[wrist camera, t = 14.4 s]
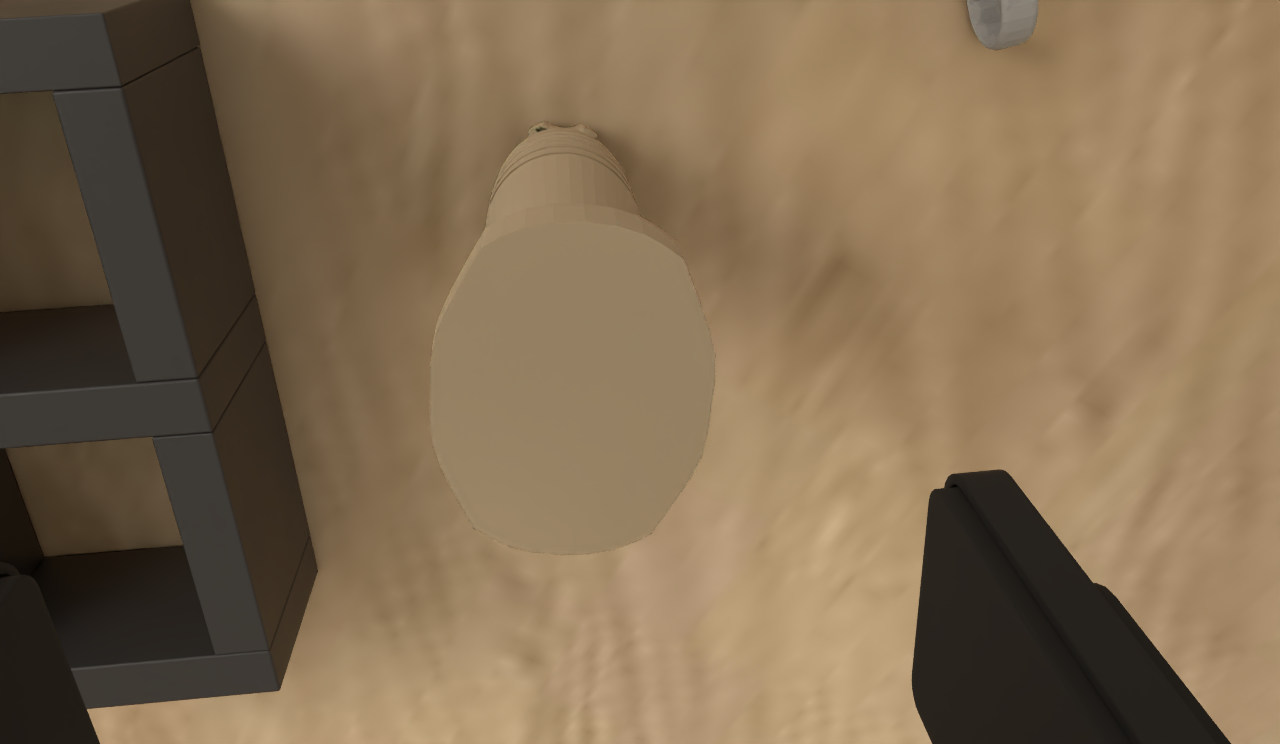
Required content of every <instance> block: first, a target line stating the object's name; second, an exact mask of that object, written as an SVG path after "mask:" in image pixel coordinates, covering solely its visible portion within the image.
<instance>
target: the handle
mask: <svg viewBox="0 0 1280 744" xmlns="http://www.w3.org/2000/svg"><path fill="white" fill-rule="evenodd" d="M715 359H716V355H715V351H714V346H713V341H712V337H711V332H710V328H709V326H708V323H707V320H706V317H705V314H704V312H703V309H702V306H701V303H700V300H699V297H698V295H697V292H696V289H695V287H694V284H693V281H692V279H691V276H690V273H689V271H688V268H687V266H686V263H685V261H684V258H683V256H682V253H681V250H680V248H679V245H678V243H677V242H676V240H675V239H674V238H672V237H671V236H670V235H668V234H667V233H666V232H664V231H663V230H662V229H661V228H659V227H658V226H656V225H654V224H652V223H651V222H649V221H647V220H645V219H644V218H642V217H640V216H639V212H638V209H637V206H636V202H635V199H634V196H633V193H632V190H631V187H630V184H629V182H628V180H627V178H626V176H625V174H624V172H623V170H622V168H621V166H620V164H619V163H618V162H617V160H616V159H615V157H614V156H613V155H612V154H611V152H610V151H609V150H608V149H607V148H606V147H605V146H604V145H603V144H601V143H600V142H599V141H598V136H597V134H596V133H595V132H594V131H593V130H592V129H590V128H588V127H586V126H584V125H583V124H579V125H577V126H574V127H565V128H563V127H557V126H554V125H551V124H549V123H548V122H545V121H544V122H541V123H538V124H536V125H535V126H533V127H531V129H530V131H529V133H528V137H527V138H526V139H525V140H524V141H522V142H521V143H520V144H519V145H517V147H516V148H515V149H514V150H513V151H512V152H511V153H510V154H509V156H508V157H507V159H506V160H505V162H504V164H503V165H502V167H501V169H500V172H499V174H498V176H497V179H496V181H495V184H494V187H493V190H492V194H491V198H490V202H489V207H488V212H487V217H486V226H485V230H484V231H483V233H482V235H481V236H480V238H479V240H478V241H477V243H476V245H475V247H474V248H473V250H472V252H471V254H470V255H469V257H468V259H467V261H466V263H465V264H464V266H463V268H462V270H461V272H460V274H459V276H458V277H457V279H456V281H455V283H454V285H453V287H452V289H451V291H450V293H449V295H448V297H447V299H446V302H445V304H444V306H443V309H442V311H441V313H440V315H439V318H438V321H437V325H436V330H435V334H434V339H433V345H432V353H431V366H430V427H431V436H432V444H433V448H434V451H435V454H436V457H437V459H438V462H439V465H440V467H441V470H442V472H443V474H444V476H445V478H446V480H447V481H448V483H449V485H450V487H451V489H452V491H453V493H454V495H455V497H456V498H457V500H458V502H459V504H460V506H461V507H462V509H463V511H464V513H465V514H466V516H467V518H468V520H469V522H470V523H471V525H472V527H473V529H475V530H477V531H479V532H480V533H482V534H484V535H485V536H487V537H489V538H490V539H493V540H495V541H497V542H499V543H502V544H504V545H506V546H509V547H512V548H516V549H520V550H525V551H529V552H533V553H543V554H554V555H581V554H593V553H599V552H605V551H610V550H615V549H618V548H620V547H623V546H626V545H629V544H631V543H634V542H636V541H638V540H640V539H642V538H644V537H646V536H648V535H650V534H652V533H653V531H654V530H655V529H656V527H657V526H658V524H659V523H660V522H661V520H662V519H663V517H664V516H665V515H666V513H667V512H668V510H669V509H670V508H671V506H672V505H673V503H674V502H675V501H676V499H677V498H678V496H679V495H680V493H681V492H682V490H683V489H684V487H685V486H686V484H687V483H688V481H689V480H690V478H691V476H692V475H693V473H694V471H695V469H696V467H697V465H698V463H699V461H700V459H701V457H702V454H703V450H704V446H705V442H706V438H707V434H708V429H709V421H710V414H711V407H712V399H713V392H714V385H715Z"/></svg>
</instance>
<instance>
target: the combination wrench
mask: <svg viewBox="0 0 1280 744" xmlns="http://www.w3.org/2000/svg"><path fill="white" fill-rule="evenodd" d="M967 6H968V11H969V16H970V20H971V23H972V26H973V29H974V31H975V33H976V36H977V37H978V39H979V40H980V42H981V43H982V44H983V45H984V46H985V47H986V48H988V49H992V50H1000V49H1004V48H1008V47H1012V46H1016V45H1020V44H1022V43H1024V42H1025V41H1027V40H1028V39H1029V37H1030V36H1031V35H1032V33H1033V30H1034V28H1035V25H1036V21H1037V15H1038V0H967Z"/></svg>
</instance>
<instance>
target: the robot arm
mask: <svg viewBox="0 0 1280 744" xmlns="http://www.w3.org/2000/svg"><path fill="white" fill-rule="evenodd" d="M912 690H913V696H914V700H915V704H916V708H917V710H918V713H919V715H920V717H921V720H922V722H923V724H924V726H925V728H926V731H927V733H928V735H929V737H930V740H931V742H932V744H1231V743H1230V742H1229V740H1228V739H1227V738H1226V737H1225V735H1224V734H1223V733H1222V731H1221V730H1220V729H1219V728H1218V726H1217V725H1216V724H1215V723H1214V721H1213V720H1212V719H1211V717H1210V716H1209V715H1208V714H1207V712H1206V711H1205V710H1204V709H1203V707H1202V706H1201V705H1200V703H1199V702H1198V701H1197V700H1196V698H1195V697H1194V696H1193V695H1192V693H1191V692H1190V691H1189V689H1188V688H1187V687H1186V686H1185V684H1184V683H1183V682H1182V680H1181V679H1180V678H1179V677H1178V675H1177V674H1176V673H1175V672H1174V670H1173V669H1172V668H1171V666H1170V665H1169V664H1168V663H1167V661H1166V660H1165V659H1164V658H1163V656H1162V655H1161V654H1160V652H1159V651H1158V650H1157V649H1156V647H1155V646H1154V645H1153V644H1152V642H1151V641H1150V640H1149V638H1148V637H1147V636H1146V635H1145V633H1144V632H1143V631H1142V630H1141V628H1140V627H1139V626H1138V624H1137V623H1136V622H1135V621H1134V619H1133V618H1132V617H1131V615H1130V614H1129V613H1128V612H1127V610H1126V609H1125V608H1124V607H1123V605H1122V604H1121V603H1120V601H1119V600H1118V599H1117V598H1116V596H1114V595H1113V594H1112V593H1111V592H1110V591H1109V590H1108V589H1107V588H1106V587H1105V586H1102V585H1100V584H1097V583H1093V582H1092V581H1091V580H1090V578H1089V577H1088V576H1087V575H1086V573H1085V572H1084V571H1083V569H1082V568H1081V567H1080V565H1079V564H1078V563H1077V562H1076V560H1075V559H1074V558H1073V556H1072V555H1071V554H1070V552H1069V551H1068V550H1067V549H1066V547H1065V546H1064V545H1063V543H1062V542H1061V541H1060V539H1059V538H1058V537H1057V536H1056V534H1055V533H1054V532H1053V530H1052V529H1051V528H1050V526H1049V525H1048V524H1047V522H1046V521H1045V520H1044V519H1043V517H1042V516H1041V515H1040V513H1039V512H1038V511H1037V509H1036V508H1035V507H1034V506H1033V504H1032V503H1031V502H1030V500H1029V499H1028V498H1027V496H1026V495H1025V494H1024V493H1023V491H1022V490H1021V489H1020V487H1019V486H1018V485H1017V483H1016V482H1015V481H1014V480H1013V478H1012V477H1011V476H1010V475H1009V474H1008V473H1007V472H1006V471H1004V470H990V471H979V472H968V473H958V474H951V475H950V476H948V478H947V480H946V482H945V487H944V488H941V489H934V490H933V491H932V492H931V495H930V498H929V505H928V516H927V526H926V536H925V546H924V556H923V567H922V577H921V587H920V597H919V608H918V618H917V628H916V638H915V648H914V659H913V669H912ZM0 744H100V743H99V740H98V737H97V735H96V732H95V730H94V727H93V725H92V722H91V719H90V717H89V714H88V712H87V709H86V707H85V704H84V701H83V699H82V696H81V694H80V691H79V689H78V686H77V683H76V681H75V678H74V676H73V673H72V671H71V668H70V665H69V663H68V660H67V658H66V655H65V653H64V650H63V647H62V645H61V642H60V640H59V637H58V635H57V632H56V629H55V627H54V624H53V622H52V619H51V617H50V614H49V611H48V609H47V606H46V604H45V601H44V599H43V596H42V593H41V591H40V588H39V586H38V584H37V582H36V580H35V579H33V578H32V577H31V576H28V575H20V573H19V572H18V570H17V569H16V568H15V567H14V566H13V565H12V564H8V563H0Z"/></svg>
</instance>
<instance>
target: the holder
mask: <svg viewBox="0 0 1280 744" xmlns="http://www.w3.org/2000/svg"><path fill="white" fill-rule="evenodd" d="M197 46H199V39H198V35H197V30H196V26H195V22H194V17H193V13H192V8H191V4H190V0H0V94H7V93H23V92H40V91H53V98H54V101H55V105H56V108H57V112H58V115H59V119H60V122H61V125H62V129H63V132H64V136H65V139H66V143H67V146H68V149H69V153H70V156H71V160H72V163H73V167H74V170H75V173H76V177H77V180H78V184H79V187H80V191H81V194H82V197H83V201H84V204H85V208H86V211H87V215H88V218H89V222H90V225H91V228H92V232H93V235H94V239H95V242H96V246H97V249H98V252H99V256H100V259H101V263H102V266H103V270H104V273H105V276H106V280H107V283H108V287H109V290H110V294H111V297H112V300H113V304H114V305H103V306H89V307H75V308H62V309H48V310H34V311H21V312H7V313H0V563H8V564H12V565H13V566H14V567H15V568H16V569H17V570H18V572H19V573H20V575H28V576H31V577H32V578H33V579H35V580H36V582H37V584H38V586H39V588H40V591H41V593H42V596H43V599H44V601H45V604H46V606H47V609H48V611H49V614H50V617H51V619H52V622H53V624H54V627H55V629H56V632H57V635H58V637H59V640H60V642H61V645H62V647H63V650H64V653H65V655H66V658H67V660H68V663H69V665H70V668H71V671H72V673H73V676H74V678H75V681H76V683H77V686H78V689H79V691H80V694H81V696H82V699H83V701H84V704H85V707H86V709H92V708H102V707H113V706H124V705H134V704H145V703H155V702H166V701H177V700H187V699H198V698H209V697H219V696H230V695H241V694H251V693H262V692H273V691H279V690H280V688H281V685H282V682H283V679H284V675H285V672H286V669H287V666H288V663H289V660H290V657H291V653H292V650H293V647H294V644H295V641H296V638H297V635H298V632H299V628H300V625H301V622H302V619H303V616H304V613H305V610H306V607H307V603H308V600H309V597H310V594H311V591H312V588H313V585H314V581H315V578H316V575H317V572H318V570H317V565H316V561H315V556H314V552H313V547H312V543H311V539H310V536H309V534H310V533H309V529H308V524H307V520H306V515H305V511H304V507H303V502H302V498H301V493H300V489H299V484H298V480H297V475H296V471H295V467H294V462H293V458H292V453H291V449H290V444H289V440H288V435H287V431H286V427H285V422H284V418H283V413H282V409H281V404H280V400H279V396H278V391H277V387H276V382H275V378H274V373H273V369H272V364H271V360H270V356H269V351H268V347H267V343H266V342H265V334H264V330H263V325H262V321H261V317H260V312H259V308H258V303H257V299H256V296H255V295H254V293H255V290H254V286H253V281H252V277H251V272H250V268H249V264H248V259H247V255H246V250H245V246H244V241H243V237H242V233H241V228H240V224H239V219H238V215H237V210H236V206H235V201H234V197H233V193H232V188H231V184H230V179H229V175H228V170H227V166H226V161H225V157H224V153H223V148H222V144H221V139H220V135H219V130H218V126H217V122H216V117H215V113H214V108H213V104H212V99H211V95H210V90H209V86H208V82H207V77H206V73H205V68H204V64H203V59H202V55H201V50H200V48H199V47H197ZM141 437H153V443H154V446H155V450H156V453H157V457H158V460H159V463H160V467H161V470H162V474H163V477H164V481H165V484H166V487H167V491H168V494H169V498H170V501H171V505H172V508H173V511H174V515H175V518H176V522H177V525H178V529H179V532H180V535H181V539H182V542H183V546H178V547H166V548H155V549H143V550H131V551H120V552H108V553H97V554H85V555H73V556H62V557H50V558H43V555H42V552H41V549H40V547H39V544H38V541H37V538H36V536H35V533H34V530H33V528H32V525H31V522H30V519H29V517H28V514H27V511H26V508H25V506H24V503H23V500H22V498H21V495H20V492H19V489H18V487H17V484H16V481H15V478H14V476H13V473H12V470H11V467H10V465H9V462H8V459H7V457H6V454H5V451H4V448H16V447H29V446H41V445H54V444H66V443H79V442H91V441H104V440H116V439H129V438H141Z"/></svg>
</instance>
